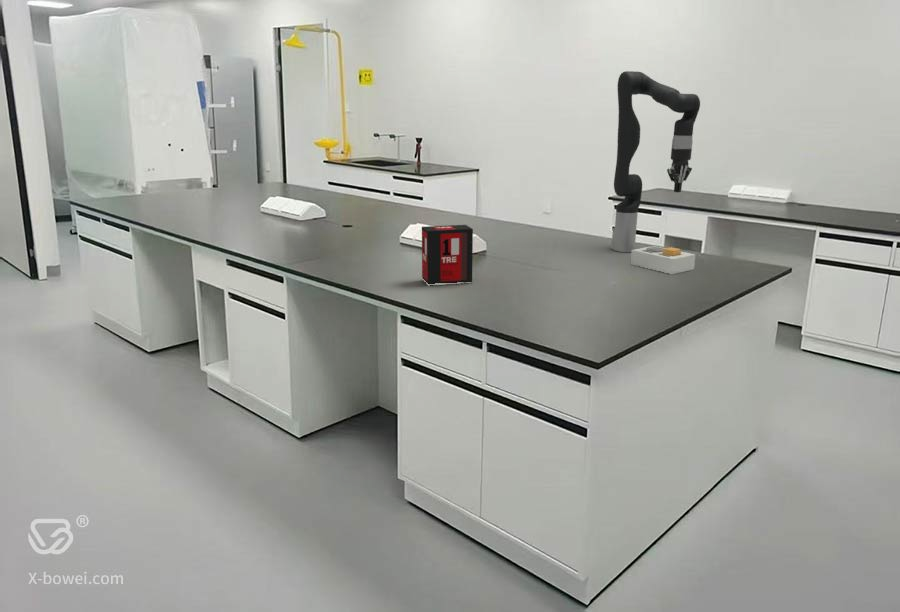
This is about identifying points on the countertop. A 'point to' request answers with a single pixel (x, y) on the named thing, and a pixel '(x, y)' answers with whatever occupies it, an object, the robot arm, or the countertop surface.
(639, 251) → the panel
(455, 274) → the cleaning product box
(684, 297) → the countertop surface
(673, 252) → the tan cardboard-coloured cube
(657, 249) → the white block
